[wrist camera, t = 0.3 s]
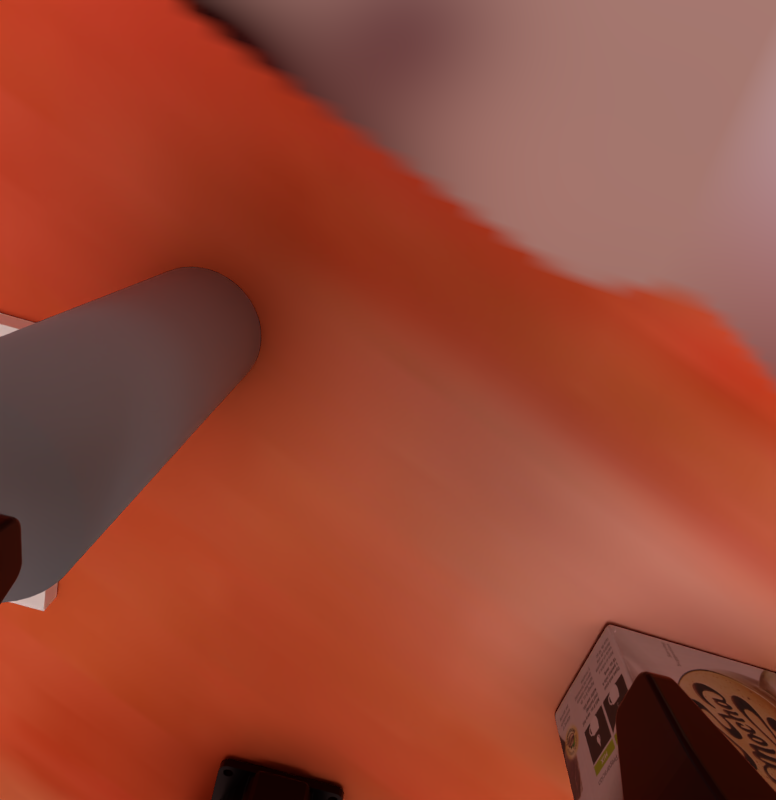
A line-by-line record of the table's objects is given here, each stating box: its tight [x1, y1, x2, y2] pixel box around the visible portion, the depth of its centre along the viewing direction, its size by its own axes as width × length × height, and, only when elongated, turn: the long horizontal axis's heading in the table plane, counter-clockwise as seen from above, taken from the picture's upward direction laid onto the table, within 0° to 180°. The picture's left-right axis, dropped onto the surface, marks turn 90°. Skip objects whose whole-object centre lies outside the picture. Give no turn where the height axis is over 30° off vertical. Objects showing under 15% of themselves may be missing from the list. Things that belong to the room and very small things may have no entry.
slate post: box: [0, 267, 261, 603], centre depth 17 cm, size 5×5×12 cm
